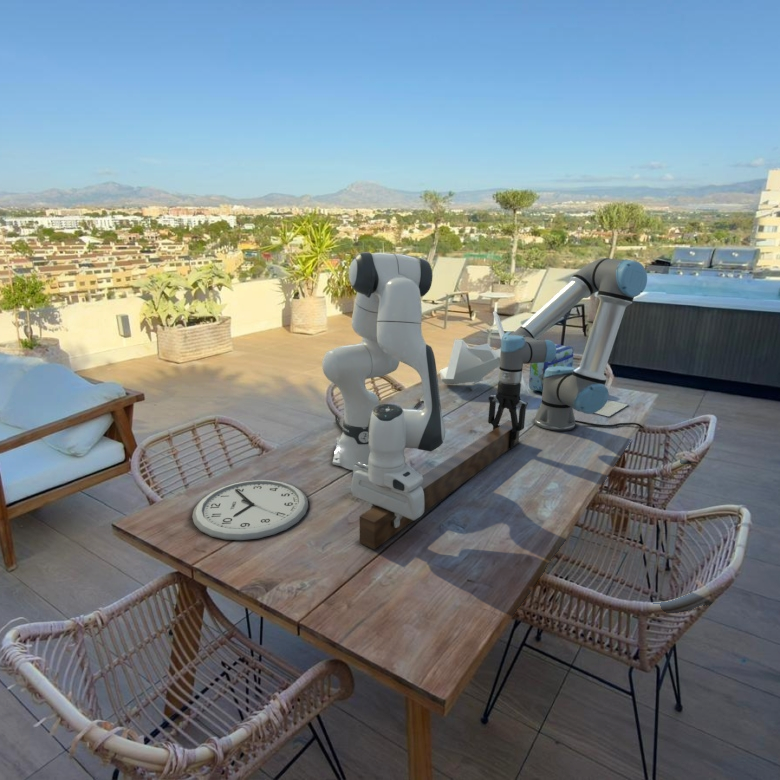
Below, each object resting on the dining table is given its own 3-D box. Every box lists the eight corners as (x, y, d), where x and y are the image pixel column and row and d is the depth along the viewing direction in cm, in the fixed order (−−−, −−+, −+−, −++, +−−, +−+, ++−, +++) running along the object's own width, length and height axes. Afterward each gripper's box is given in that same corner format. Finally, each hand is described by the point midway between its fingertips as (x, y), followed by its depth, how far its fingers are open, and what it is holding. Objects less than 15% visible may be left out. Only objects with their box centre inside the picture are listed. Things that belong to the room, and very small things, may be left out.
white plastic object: (461, 429, 252) (437, 405, 227) (444, 352, 274) (420, 323, 250) (535, 404, 240) (518, 377, 215) (510, 326, 262) (492, 293, 237)
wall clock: (304, 532, 127) (176, 536, 124) (304, 538, 127) (177, 542, 125) (311, 475, 155) (207, 478, 153) (311, 480, 156) (208, 483, 153)
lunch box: (545, 397, 238) (550, 352, 231) (524, 391, 245) (529, 348, 239) (572, 386, 255) (578, 344, 249) (552, 381, 262) (557, 340, 256)
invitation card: (608, 416, 214) (573, 407, 224) (608, 416, 214) (573, 408, 224) (628, 404, 229) (594, 396, 238) (628, 405, 229) (594, 397, 238)
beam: (506, 439, 190) (508, 420, 188) (518, 442, 187) (520, 422, 185) (359, 542, 126) (359, 515, 124) (374, 549, 124) (374, 522, 121)
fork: (411, 408, 219) (411, 404, 219) (422, 397, 234) (422, 393, 233) (417, 409, 219) (417, 404, 218) (427, 398, 233) (427, 394, 232)
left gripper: (345, 464, 129) (345, 513, 133) (413, 489, 117) (412, 542, 121) (361, 455, 134) (361, 503, 138) (429, 478, 122) (426, 530, 126)
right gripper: (480, 379, 178) (475, 442, 185) (530, 389, 168) (523, 455, 175) (490, 374, 184) (485, 436, 191) (539, 384, 174) (532, 448, 180)
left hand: (385, 522), depth 130 cm, fingers closed on beam, 4 cm apart
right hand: (503, 445), depth 183 cm, fingers open, 5 cm apart
